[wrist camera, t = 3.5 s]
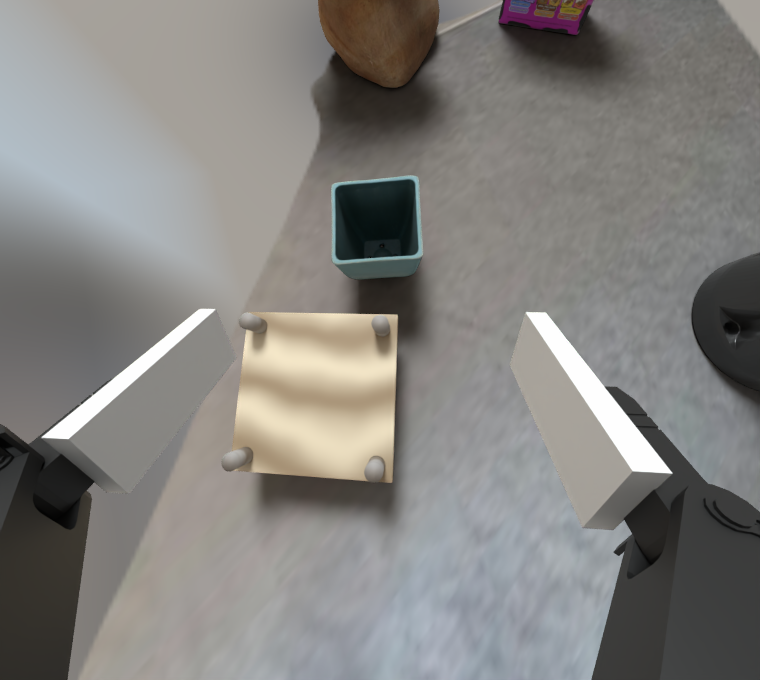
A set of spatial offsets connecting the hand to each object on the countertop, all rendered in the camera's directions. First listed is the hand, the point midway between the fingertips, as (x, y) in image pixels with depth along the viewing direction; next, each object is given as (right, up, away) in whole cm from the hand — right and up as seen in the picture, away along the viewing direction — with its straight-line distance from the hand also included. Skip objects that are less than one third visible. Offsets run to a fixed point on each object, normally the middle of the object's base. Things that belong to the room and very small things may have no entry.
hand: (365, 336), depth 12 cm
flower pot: (+1, +10, +24) cm, 26 cm away
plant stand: (-5, -6, +22) cm, 23 cm away
